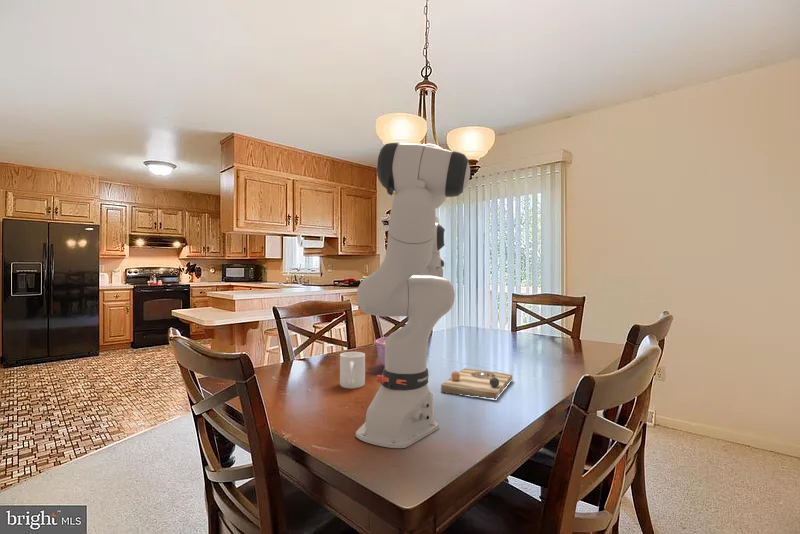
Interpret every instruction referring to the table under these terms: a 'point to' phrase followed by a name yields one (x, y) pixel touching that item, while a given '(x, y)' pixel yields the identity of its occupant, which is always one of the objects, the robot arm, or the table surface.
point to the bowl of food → (381, 349)
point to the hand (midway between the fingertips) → (426, 301)
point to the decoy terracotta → (455, 375)
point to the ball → (483, 374)
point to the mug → (352, 370)
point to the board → (476, 383)
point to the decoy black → (494, 382)
